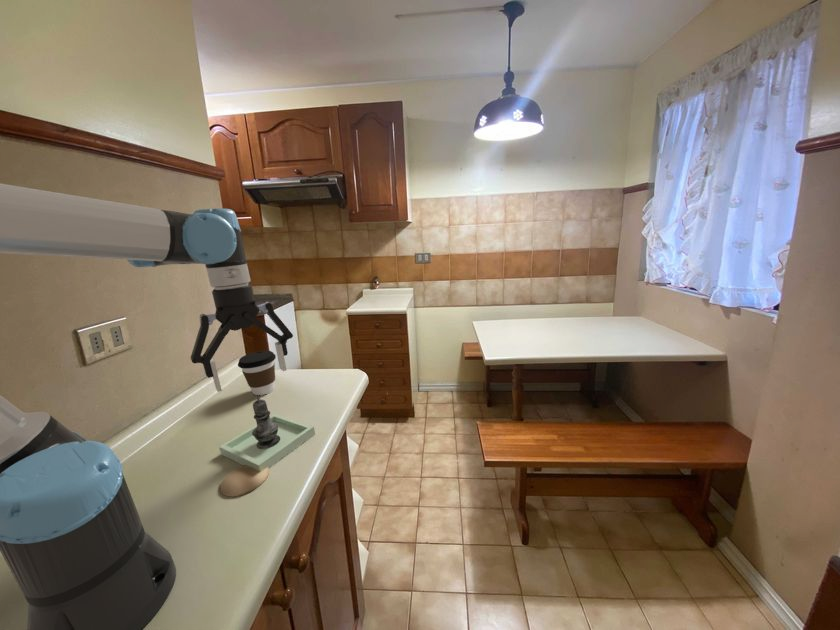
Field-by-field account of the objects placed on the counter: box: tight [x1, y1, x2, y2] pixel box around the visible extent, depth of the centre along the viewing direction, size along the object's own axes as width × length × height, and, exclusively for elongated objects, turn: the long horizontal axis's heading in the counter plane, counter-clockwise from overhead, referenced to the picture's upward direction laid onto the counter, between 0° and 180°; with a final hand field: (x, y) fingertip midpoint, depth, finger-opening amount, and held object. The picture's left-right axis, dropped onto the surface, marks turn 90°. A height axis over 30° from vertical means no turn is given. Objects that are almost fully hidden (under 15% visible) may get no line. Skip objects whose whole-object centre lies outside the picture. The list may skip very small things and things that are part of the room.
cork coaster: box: [220, 465, 270, 498], centre depth 70 cm, size 9×9×1 cm
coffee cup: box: [237, 350, 277, 397], centre depth 108 cm, size 11×11×12 cm
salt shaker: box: [252, 396, 280, 449], centre depth 80 cm, size 6×6×12 cm
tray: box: [218, 413, 316, 472], centre depth 81 cm, size 15×15×2 cm
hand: (252, 379), depth 77 cm, fingers open, 13 cm apart
